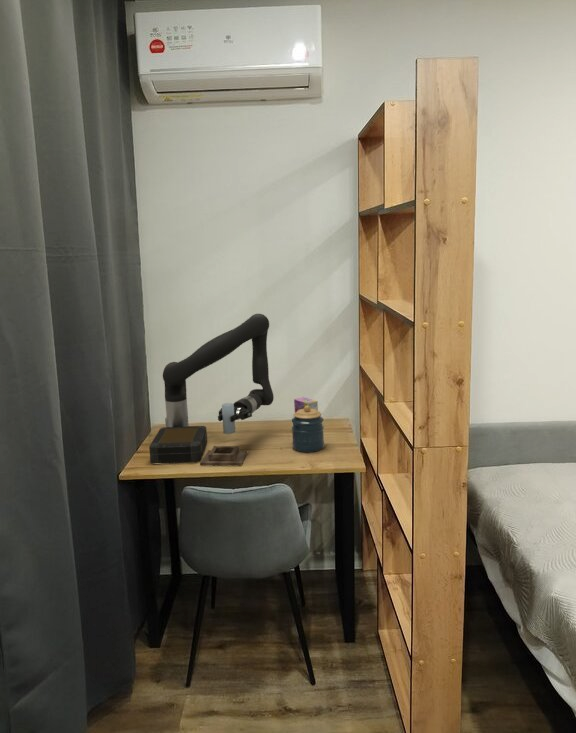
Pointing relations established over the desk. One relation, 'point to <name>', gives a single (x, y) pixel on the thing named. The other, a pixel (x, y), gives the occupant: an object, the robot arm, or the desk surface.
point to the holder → (224, 456)
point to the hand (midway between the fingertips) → (225, 419)
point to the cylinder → (228, 418)
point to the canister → (307, 430)
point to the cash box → (178, 444)
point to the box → (305, 403)
